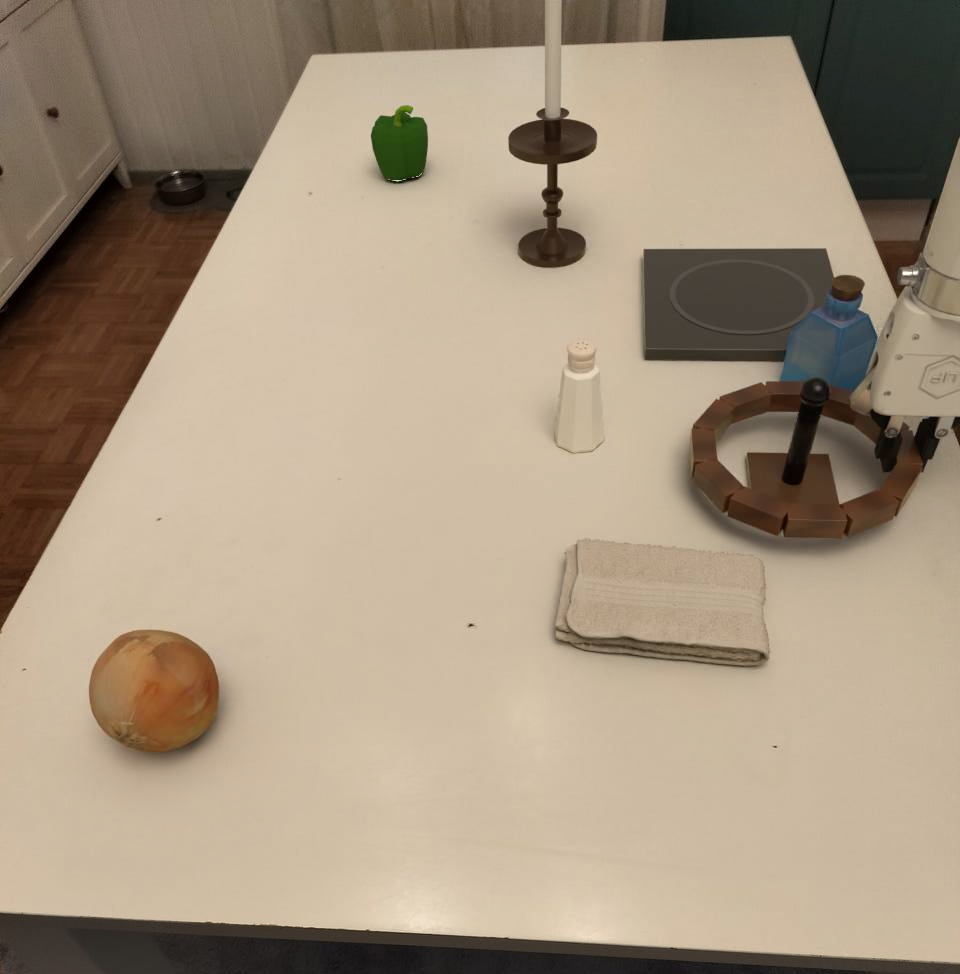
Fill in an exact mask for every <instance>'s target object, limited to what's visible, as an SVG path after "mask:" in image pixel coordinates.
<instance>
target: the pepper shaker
mask: <svg viewBox="0 0 960 974" xmlns="http://www.w3.org/2000/svg"><path fill="white" fill-rule="evenodd" d="M566 351H567V363H566V364H565V365H563V366H562V370H561V375H560V376H561V377H560V384H559V390H558V392H559V394H558V400H557V406H556V416H555V423H554V431H553V435H554V439H555V443H556V446H557V447H559V448H561V449H562V450H565V451H567V452H570V453H572V454H578V453H588V452H593V451H594V450H595V449H597V448H598V446H600V445H601V444H602V443H604V441H605V432H604V431H605V430H604V416H603V401H602V387H601V386H602V385H601V375H600V369H599V366H598V363H597V362H595V361H596V353H597V346H596V344H595V343H594V342H593V341H592V340H589V339H582V338H581V339H576V340H572V341H571V342H570V343H569V344H568V345H567V347H566Z"/></svg>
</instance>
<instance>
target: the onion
mask: <svg viewBox="0 0 960 974" xmlns="http://www.w3.org/2000/svg"><path fill="white" fill-rule="evenodd" d="M88 684H89V685H88V698H89V705H90V709H91V713H92V715H93V717H94V719H95V721H96V723H97V725H99V726H98V727H100V729H101V730H102V731H103V732H104V733H105V734H106V735H107V736H109V737H110V738H111V739H112V740H114V741H116V742H117V743H119V744H121V745H123V746H125V747H126V748H129V749H133V750H136V751H139V752H142V753H149V754H159V753H160V754H161V753H165V752H170V751H175V750H177V749H180V748H182V747H184V746H187V745H188V744H190V743H191V742H193V741H195V740H197V739H199V737H200V736H201V735H203V734H204V733H205V732H206V730H207V729H208V728H209V727H210V726H211V724H212V722H213V720H214V719H215V716H216V714H217V711H218V706H219V698H220V683H219V677H218V673H217V668H216V666H215V663H214V661H213V659H212V658H211V656H210V655H209V653H208V652H207V651H205V649H204V648H202V647H201V645H199V644H198V643H196V642H195V641H193V640H192V639H190V638H189V637H187V636H185V635H182V634H180V633H177V632H173V631H167V630H162V629H137V630H132V631H128V632H124V633H122V634H120V635H119V636H118V637H116V638H115V639H113V641H112V642H111V643H110V644H109V645H108V646H107V647H106V648H105V649H104V651H102V653H101V654H100V655H99V656H98V658H97V659H96V661H95V662H94V665H93V667H92V670H91V674H90V678H89V683H88Z"/></svg>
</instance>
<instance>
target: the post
mask: <svg viewBox="0 0 960 974" xmlns="http://www.w3.org/2000/svg"><path fill="white" fill-rule="evenodd" d="M830 394H831V388H830V385H829V383H828V382H827V381H826V380H825V379H823V378H820V377H813V378H810V379H808V380H807V381H806V382H805V383H804V384H803V385H802V387H801V389H800V398H801V403H800V407H799V411H798V412H797V415H796V419H795V422H794V427H793V430H792V435H791V439H790V442H789V447H788V450H787V452H760V451H759V452H756V451H755V452H754V451H753V452H752V451H747V452H746V455H745V465H746V466H745V467H746V475H747V482H748V483H747V484H748V488H750V489H753V490H756V491H758V492H761V493H764V494H766V495H769V496H772V497H774V498H777V499H780V500H782V501H785V502H788V503H807V504H840V501H839V496H838V492H837V487H836V482H835V478H834V473H833V467H832V464H831V459H830V455H829V453H812V449H813V446H814V441H815V438H816V435H817V431H818V427H819V423H820V419H821V416H822V415H821V413H822V410H823V406H824V403H826V402H827V400H828V399H829V397H830Z"/></svg>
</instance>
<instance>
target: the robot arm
mask: <svg viewBox="0 0 960 974" xmlns="http://www.w3.org/2000/svg"><path fill="white" fill-rule="evenodd" d="M941 191H942V192H941V194H940V196H939V200H938V203H937V207H936V210H935V213H934V216H933V220H932V223H931V227H930V229H929V232H928V235H927V239H926V241H925V245H924V248H923V251H922V252H920V253H919V255H918V258H917V260H916V261H915V263H914V264H910V265H909V266H900V267H899V268H898V272H897V275H896V284H897V285H898V286H904V288H903V290H902V291H901V293H900V294H899V296H898V297H897V299H896V301H895V303H894V305H893V306H892V309H891V310H890V312H889V314H888V316H887V319H886V320H885V322H884V325H883V327H882V329H881V331H880V333H879V335H878V339H877V343H876V346H875V349H874V351H873V354H872V357H871V360H870V363H869V366H868V369H867V373H866V377H865V378H864V380H863V381H862V382H861V383H860V384H859V386H858V387H857V388H856V389H855V390H854V391H853V393H852V394H851V395H850V396H849V398H848V400H849V404H850V408H851V409H852V410H853V411H856V412H858V413H861V414H863V415H866V416H867V415H868V416H870V417H871V418H872V419H873V420H874V422H875V423H876V424H877V425H878V426H879V427H880V428H881V430H880V433H879V436H878V439H877V442H876V444H875V445H874V450H873V451H874V452H873V454H874V458H875V460H879V464H880V467H881V471H882V473H889V472H890V471H891V470H892V467H893V464H894V461H895V459H896V457H897V455H898V452H899V449H900V447H901V444H902V436H901V427H902V424H903V422H904V421H905V418H906V417H924V418H922V420H921V421H919V423H918V425H917V429H916V431H915V433H914V438H915V441H916V444H917V447H918V450H919V454H920V457H921V459H922V462H923V466H922V468H923V469H922V471H921V474H923V473H924V471H925V469H926V466H927V463H928V461H932V460H933V458H934V457H935V454H936V451H937V449H938V446H939V444H940V441H941V440H942V439H944V438H946V437H948V436H949V434H950V431H951V430H952V429H954V428H956V427H957V426H959V425H960V137H959V138H958V140H957V144H956V147H955V150H954V154H953V156H952V159H951V162H950V165H949V169H948V171H947V175H946V178H945V182H944V185H943V188H942V190H941ZM925 417H926V418H925Z"/></svg>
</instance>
